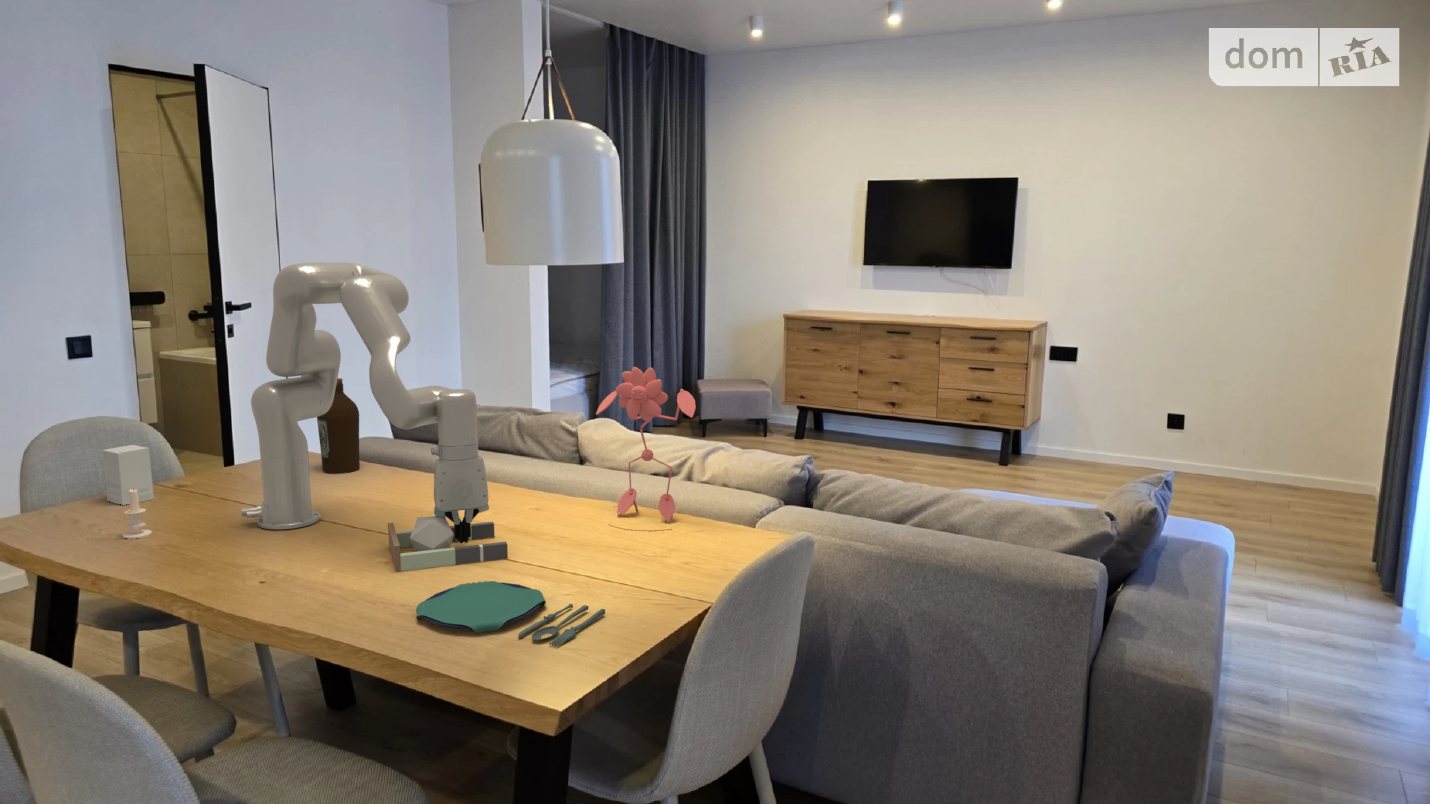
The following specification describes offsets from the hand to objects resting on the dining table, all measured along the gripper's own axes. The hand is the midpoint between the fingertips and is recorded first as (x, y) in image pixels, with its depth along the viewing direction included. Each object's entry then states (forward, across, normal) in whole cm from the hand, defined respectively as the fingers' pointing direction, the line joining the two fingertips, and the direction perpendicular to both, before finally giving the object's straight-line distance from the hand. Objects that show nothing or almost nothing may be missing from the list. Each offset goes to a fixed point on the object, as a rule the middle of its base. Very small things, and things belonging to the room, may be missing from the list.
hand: (463, 541), depth 187 cm
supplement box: (+1, -67, +68) cm, 95 cm away
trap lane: (+2, -3, 0) cm, 4 cm away
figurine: (+3, +39, +6) cm, 40 cm away
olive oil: (+1, -20, +82) cm, 85 cm away
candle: (+1, -61, +36) cm, 71 cm away
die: (+2, -6, -1) cm, 6 cm away
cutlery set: (+3, +1, -37) cm, 37 cm away
